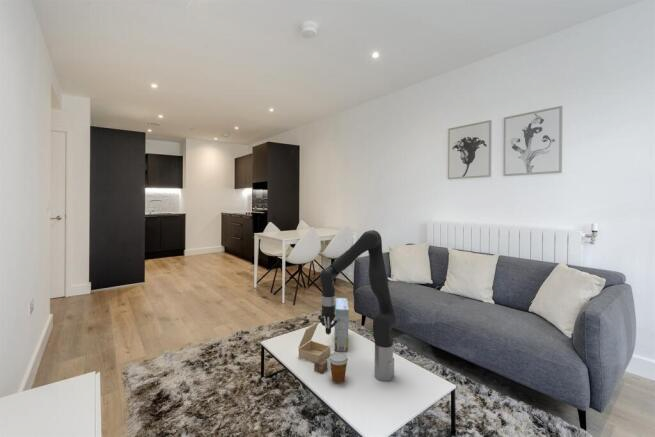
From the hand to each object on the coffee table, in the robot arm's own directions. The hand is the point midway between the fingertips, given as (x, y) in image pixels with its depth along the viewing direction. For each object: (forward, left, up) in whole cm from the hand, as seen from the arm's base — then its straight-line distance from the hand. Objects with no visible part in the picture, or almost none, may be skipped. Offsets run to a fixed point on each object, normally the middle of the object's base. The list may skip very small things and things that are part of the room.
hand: (328, 333), depth 170 cm
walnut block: (-2, +10, -16) cm, 19 cm away
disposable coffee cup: (-14, +12, -16) cm, 24 cm away
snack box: (+4, -22, -16) cm, 27 cm away
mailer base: (+9, 0, -16) cm, 18 cm away
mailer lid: (+13, 0, -4) cm, 14 cm away
